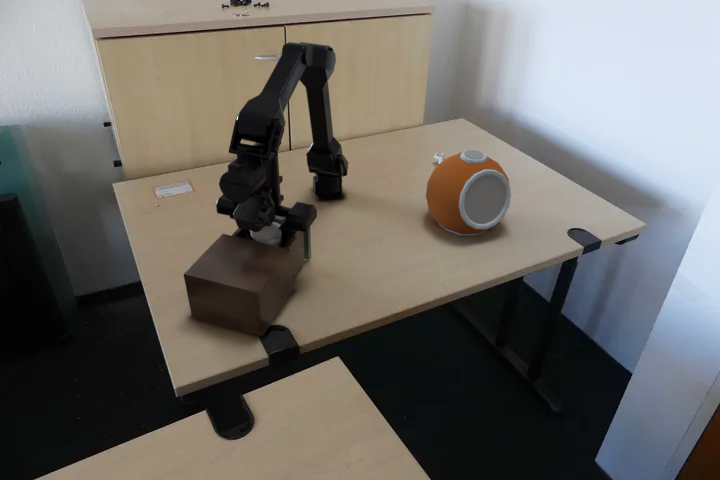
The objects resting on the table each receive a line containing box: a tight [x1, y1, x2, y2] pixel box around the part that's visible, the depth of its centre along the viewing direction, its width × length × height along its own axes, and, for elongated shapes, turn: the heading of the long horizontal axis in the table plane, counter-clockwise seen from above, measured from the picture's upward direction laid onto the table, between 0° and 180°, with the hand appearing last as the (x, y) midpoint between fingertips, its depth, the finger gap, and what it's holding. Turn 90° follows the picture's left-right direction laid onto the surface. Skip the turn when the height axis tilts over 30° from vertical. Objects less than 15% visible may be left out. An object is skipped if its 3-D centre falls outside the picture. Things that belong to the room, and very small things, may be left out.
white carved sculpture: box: [250, 222, 281, 247], centre depth 106 cm, size 6×7×7 cm
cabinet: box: [183, 233, 294, 338], centre depth 99 cm, size 13×14×10 cm
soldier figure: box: [432, 151, 445, 165], centre depth 147 cm, size 8×5×12 cm
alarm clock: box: [425, 149, 512, 236], centre depth 124 cm, size 19×18×17 cm
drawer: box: [231, 216, 312, 280], centre depth 110 cm, size 17×13×9 cm
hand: (269, 245), depth 108 cm, fingers closed on white carved sculpture, 6 cm apart
